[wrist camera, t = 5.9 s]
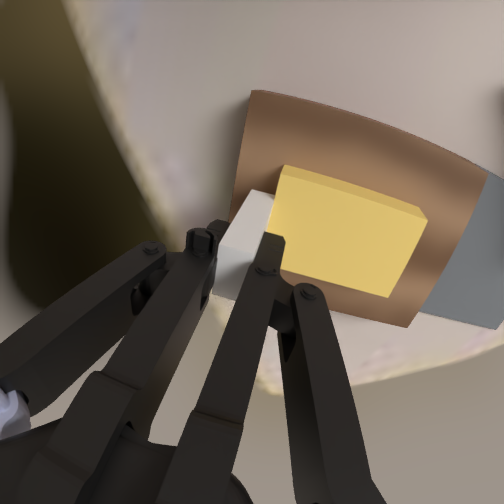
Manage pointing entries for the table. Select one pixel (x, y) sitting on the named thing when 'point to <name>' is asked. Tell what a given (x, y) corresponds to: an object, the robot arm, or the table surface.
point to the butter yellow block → (343, 231)
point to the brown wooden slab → (367, 176)
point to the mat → (475, 266)
